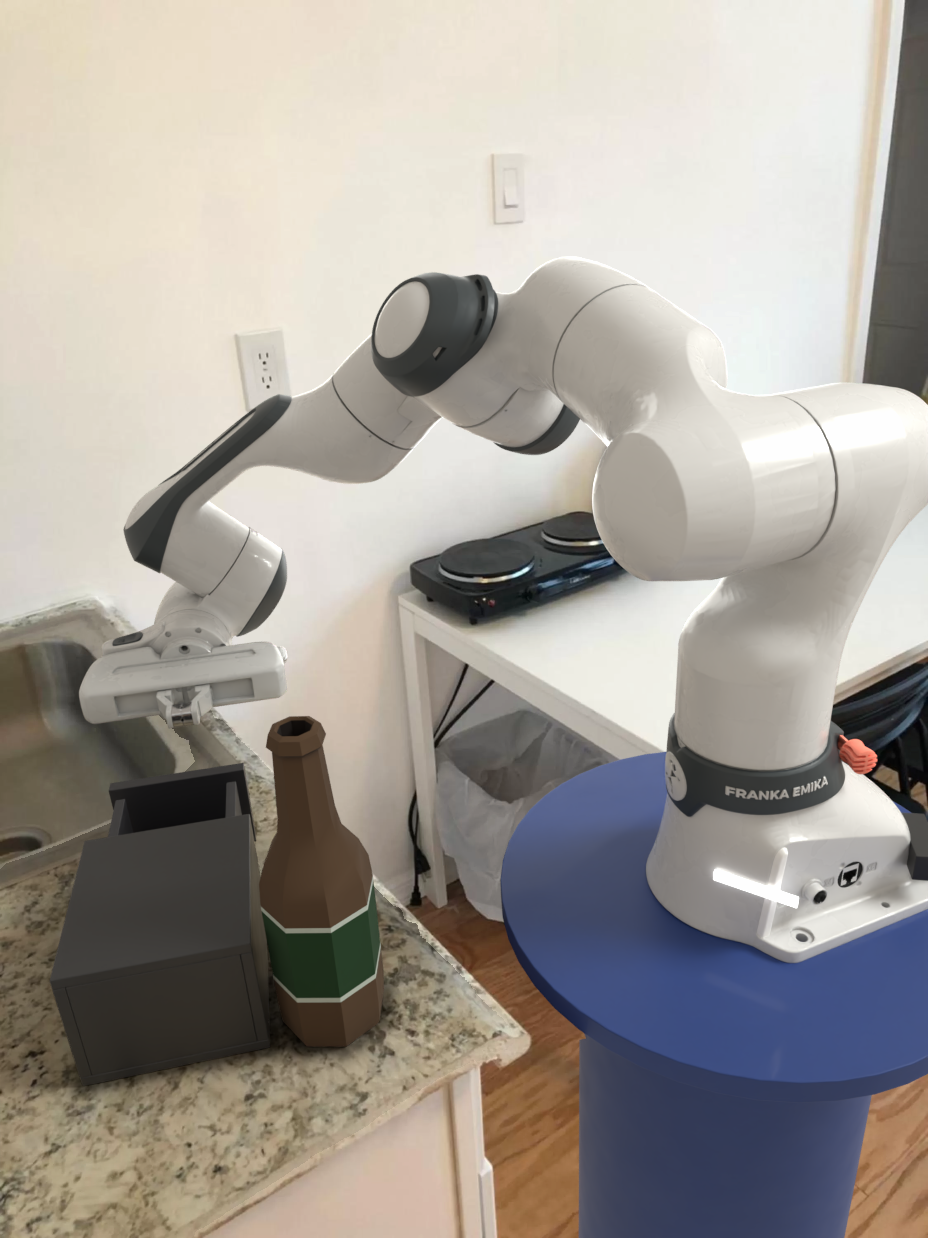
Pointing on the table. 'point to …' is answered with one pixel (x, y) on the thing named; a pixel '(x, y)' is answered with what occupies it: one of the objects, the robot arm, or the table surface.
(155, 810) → the drawer
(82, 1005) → the cabinet
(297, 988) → the beer bottle
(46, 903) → the table surface
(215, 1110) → the table surface
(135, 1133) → the table surface
